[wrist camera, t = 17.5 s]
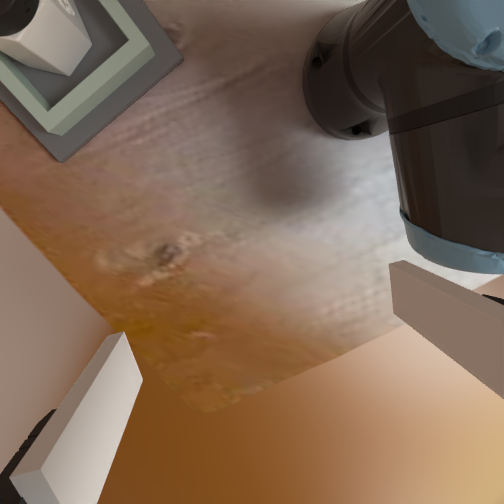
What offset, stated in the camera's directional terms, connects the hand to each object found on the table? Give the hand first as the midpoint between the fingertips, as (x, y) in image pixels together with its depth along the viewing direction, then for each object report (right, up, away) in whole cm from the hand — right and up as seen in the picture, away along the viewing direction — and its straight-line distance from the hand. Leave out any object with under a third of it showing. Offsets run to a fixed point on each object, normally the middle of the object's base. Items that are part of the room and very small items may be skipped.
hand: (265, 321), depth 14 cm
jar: (-23, +28, +19) cm, 41 cm away
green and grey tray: (-23, +28, +20) cm, 42 cm away
